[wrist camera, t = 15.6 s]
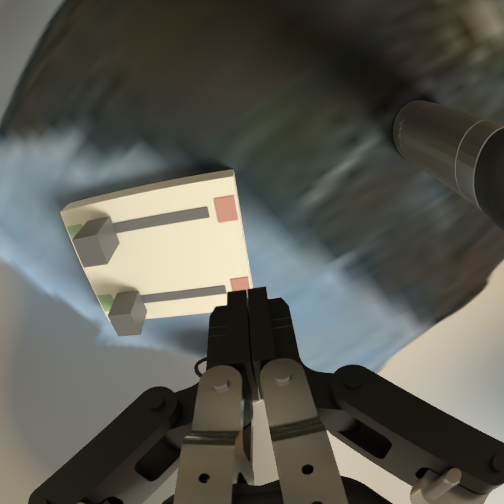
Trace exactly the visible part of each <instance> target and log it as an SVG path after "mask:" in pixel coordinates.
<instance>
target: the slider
mask: <svg viewBox="0 0 504 504" xmlns="http://www.w3.org/2000/svg"><path fill="white" fill-rule="evenodd" d="M146 314H147V309H146V307H145V305H144V302H143V300H142V298H141V295H140V293H139V291H131V292H122V293H117V294H116V297H115V299H114V302H113V304H112V306H111V309H110V311H109V314H108V318H109V319H110V321H111V323H112V325H113V327H114V329H115V331H116V332H117V334H118V336H128V335H141V332H142V328H143V324H144V321H145V317H146Z"/></svg>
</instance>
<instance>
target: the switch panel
mask: <svg viewBox="0 0 504 504" xmlns="http://www.w3.org/2000/svg"><path fill="white" fill-rule="evenodd" d="M60 213H61V216H62V219H63V221H64V224H65V226H66V229H67V232H68V234H69V237H70V239H71V241H72V239H73V238H74V237H75V235H76V234H77V233H78V232H79V230H80V229H81V228H82V227H83V226H84V224H85V223H86V222H87V221H90V220H94V219H99V218H104V217H108V216H110V217H111V220H112V223H113V226H114V229H115V232H116V234H117V237H118V240H119V245H118V247H117V248H116V250H115V252H114V254H113V256H112V257H111V259H110V261H109V263H108V264H105V265H98V266H92V267H85V268H84V267H83V265H82V263H81V260H80V258H79V256H78V253H77V251H76V249H75V246H74V244H73V241H72V244H73V246H74V249H75V251H76V253H77V256H78V258H79V260H80V263H81V265H82V267H83V269H84V271H85V274H86V276H87V278H88V280H89V282H90V284H91V286H92V288H93V291H94V293H95V295H96V297H97V299H98V301H99V303H100V305H101V307H102V309H103V310H104V312H105V314H106V316H107V318H108V314H109V311H110V309H111V306H112V304H113V302H114V299H115V297H116V294H117V293H122V292H131V291H139V293H140V295H141V298H142V300H143V302H144V305H145V307H146V309H147V314H146V317H145V319H151V318H161V317H172V316H181V315H191V314H200V313H208V312H213V310H214V308H215V307H216V306H224V305H227V292H230V291H237V290H245V289H246V291H247V289H252V288H253V285H252V279H251V273H250V267H249V261H248V255H247V249H246V242H245V236H244V230H243V224H242V218H241V212H240V206H239V200H238V194H237V187H236V181H235V175H234V169H231V170H224V171H218V172H212V173H206V174H200V175H194V176H189V177H183V178H178V179H173V180H168V181H162V182H157V183H152V184H148V185H143V186H138V187H134V188H129V189H125V190H120V191H116V192H111V193H107V194H103V195H99V196H95V197H91V198H87V199H83V200H79V201H75V202H71V203H69V204H68V205H67V206H66V207H65V208H64V209H62V210H61V211H60ZM247 296H248V292H247ZM108 320H109V322H111V321H110V319H109V318H108Z"/></svg>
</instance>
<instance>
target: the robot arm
mask: <svg viewBox="0 0 504 504" xmlns="http://www.w3.org/2000/svg"><path fill="white" fill-rule="evenodd" d="M393 140H394V143H395V146H396V148H397V150H398V152H399V153H400V154H401V155H402V156H403V157H404V158H405V159H406V160H408V161H410V162H411V163H413V164H414V165H416V166H418V167H419V168H421V169H422V170H424V171H425V172H427V173H429V174H430V175H432V176H433V177H435V178H436V179H438V180H439V181H441V182H442V183H444V184H445V185H447V186H448V187H450V188H451V189H453V190H454V191H455V192H457V193H458V194H460V195H461V196H463V197H464V198H465V199H467V200H468V201H470V202H471V203H472V204H474V205H475V206H476V207H478V208H479V209H480V210H482V211H483V212H484V213H485V214H487V215H488V216H489V217H490V218H491V219H492V220H493V222H494V223H495V224H496V225H497V226H498V227H499V228H500V229H501V230H502V231H504V125H503V124H501V123H498V122H495V121H492V120H489V119H486V118H483V117H480V116H477V115H474V114H471V113H468V112H464V111H461V110H458V109H454V108H451V107H447V106H443V105H440V104H436V103H432V102H428V101H424V100H415V101H411V102H409V103H407V104H406V105H405V106H403V107H402V108H401V109H400V111H399V112H398V114H397V116H396V118H395V121H394V124H393ZM247 292H248V296H247ZM208 335H209V337H208V350H207V367H206V372H204V373H203V375H202V376H201V378H200V380H199V382H198V383H197V384H195V385H194V386H192V387H189V388H187V389H184V390H181V391H178V392H175V393H174V392H173V391H172V390H170V389H168V388H166V387H162V386H159V387H153V388H150V389H148V390H146V391H145V392H143V393H142V394H141V395H140V396H139V397H138V398H137V399H136V400H135V401H134V402H133V403H132V404H131V405H129V406H128V407H127V408H126V409H125V410H124V411H123V412H122V413H121V414H120V415H119V416H118V417H117V418H115V419H114V420H113V421H112V422H111V423H110V424H109V425H108V426H107V427H106V428H104V429H103V430H102V431H101V432H100V433H99V434H98V435H97V436H96V437H95V438H93V439H92V440H91V441H90V442H89V443H88V444H87V445H86V446H85V447H83V448H82V449H81V450H80V451H79V452H78V453H77V454H76V455H75V456H73V457H72V458H71V459H70V460H69V461H68V462H67V463H66V464H64V465H63V466H62V467H61V468H60V469H59V470H58V471H56V472H55V473H54V474H53V475H52V476H51V477H50V478H48V479H47V480H46V481H45V482H44V483H43V484H42V485H40V487H38V488H37V489H36V490H35V491H34V492H33V493H32V494H31V496H30V498H29V503H28V504H142V503H143V502H144V501H145V500H146V499H147V498H148V497H149V496H150V495H151V494H152V493H153V492H154V491H155V490H157V489H158V487H160V486H161V484H163V483H164V481H166V480H167V478H168V477H169V476H170V475H171V474H172V473H173V472H174V471H175V470H176V469H177V468H178V474H177V481H176V488H175V494H174V495H172V496H171V497H169V498H168V499H167V500H165V501H164V502H163V503H162V504H392V503H391V502H389V501H387V500H386V499H385V498H383V497H382V496H380V495H379V494H378V493H376V492H375V491H373V490H372V489H370V488H369V487H368V486H366V485H365V484H363V483H361V482H359V481H357V480H354V479H351V478H348V477H344V476H340V474H339V470H338V467H337V464H336V461H335V457H334V454H333V451H332V447H331V444H330V441H329V438H328V435H327V431H326V430H328V431H329V432H330V433H331V434H332V435H333V436H335V437H336V438H338V439H339V440H341V441H342V442H343V443H345V444H346V445H348V446H349V447H351V448H352V449H354V450H355V451H357V452H358V453H360V454H361V455H363V456H364V457H366V458H367V459H369V460H370V461H372V462H373V463H375V464H377V465H378V466H380V467H381V468H383V469H385V470H386V471H388V472H390V473H391V474H393V475H394V476H396V477H398V478H399V479H401V480H403V481H404V482H406V483H408V484H409V485H411V486H413V487H412V489H411V492H410V500H411V503H412V504H484V502H485V500H486V498H487V496H488V495H489V493H490V492H491V491H492V490H494V489H496V488H497V487H499V486H500V485H502V484H503V483H504V443H503V442H501V441H499V440H496V439H495V438H493V437H491V436H489V435H487V434H485V433H483V432H481V431H479V430H477V429H475V428H473V427H471V426H470V425H467V424H466V423H464V422H462V421H460V420H458V419H456V418H454V417H453V416H451V415H449V414H447V413H445V412H443V411H441V410H439V409H437V408H436V407H434V406H432V405H430V404H429V403H427V402H425V401H423V400H421V399H420V398H418V397H416V396H414V395H412V394H411V393H409V392H407V391H405V390H404V389H402V388H400V387H398V386H396V385H394V384H393V383H391V382H389V381H388V380H386V379H384V378H383V377H381V376H379V375H377V374H376V373H374V372H372V371H370V370H369V369H367V368H365V367H363V366H360V365H346V366H343V367H341V368H339V369H338V370H337V371H335V373H324V372H317V371H313V370H311V369H309V368H308V367H306V366H305V365H304V364H303V363H302V361H301V359H300V357H299V352H298V348H297V343H296V338H295V333H294V329H293V324H292V319H291V315H290V310H289V306H288V305H287V303H286V302H285V301H284V300H283V299H282V298H275V299H268V298H267V291H266V287H259V288H252V289H247V291H246V289H245V290H237V291H230V292H227V305H224V306H216V307H215V308H214V310H213V312H212V313H211V315H210V320H209V334H208ZM258 389H259V394H260V398H261V400H264V403H265V408H266V413H267V418H268V423H269V429H270V434H271V440H272V445H273V451H274V456H275V461H276V466H277V471H278V476H279V480H277V481H274V482H271V483H268V484H265V485H262V486H254V472H253V401H256V400H259V394H258Z"/></svg>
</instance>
